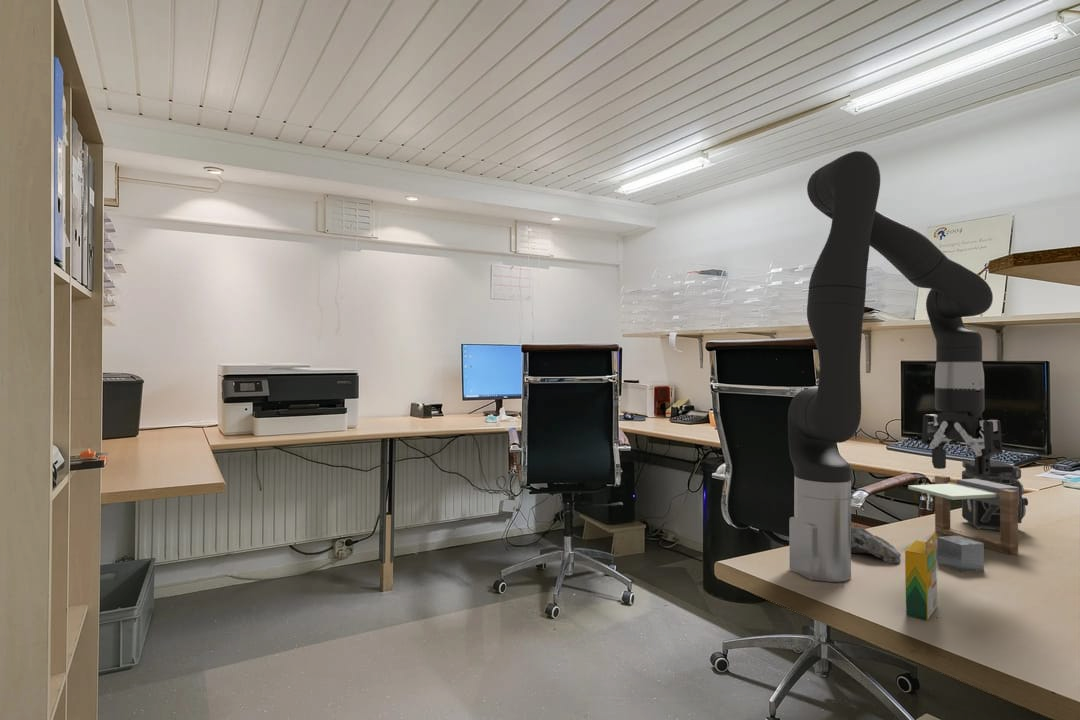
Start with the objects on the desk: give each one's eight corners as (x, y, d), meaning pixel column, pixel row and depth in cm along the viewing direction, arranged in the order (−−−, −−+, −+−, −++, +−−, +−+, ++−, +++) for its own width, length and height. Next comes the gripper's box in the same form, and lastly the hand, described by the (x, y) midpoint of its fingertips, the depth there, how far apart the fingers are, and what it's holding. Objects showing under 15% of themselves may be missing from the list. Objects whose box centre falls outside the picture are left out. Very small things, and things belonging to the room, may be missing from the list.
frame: (1010, 554, 115) (1009, 491, 115) (935, 530, 132) (934, 475, 132) (1018, 553, 116) (1017, 491, 116) (942, 530, 132) (942, 475, 132)
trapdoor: (956, 510, 115) (956, 492, 115) (904, 496, 127) (904, 480, 128) (1026, 506, 119) (1026, 488, 119) (969, 493, 131) (969, 477, 131)
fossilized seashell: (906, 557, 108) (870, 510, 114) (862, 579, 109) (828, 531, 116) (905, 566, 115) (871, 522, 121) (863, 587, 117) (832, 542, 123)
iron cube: (961, 572, 105) (961, 545, 105) (937, 563, 110) (937, 537, 110) (983, 570, 106) (983, 543, 106) (958, 561, 111) (958, 535, 111)
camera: (1032, 535, 128) (1032, 468, 128) (976, 531, 131) (975, 465, 132) (1011, 523, 138) (1011, 460, 138) (959, 519, 141) (959, 458, 141)
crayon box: (915, 601, 92) (915, 528, 92) (937, 606, 90) (937, 531, 90) (904, 615, 87) (904, 537, 87) (927, 621, 85) (927, 542, 85)
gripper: (910, 385, 115) (911, 466, 115) (978, 387, 101) (979, 480, 101) (941, 384, 116) (942, 465, 116) (1013, 387, 102) (1014, 479, 102)
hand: (959, 472), depth 109 cm, fingers open, 8 cm apart
